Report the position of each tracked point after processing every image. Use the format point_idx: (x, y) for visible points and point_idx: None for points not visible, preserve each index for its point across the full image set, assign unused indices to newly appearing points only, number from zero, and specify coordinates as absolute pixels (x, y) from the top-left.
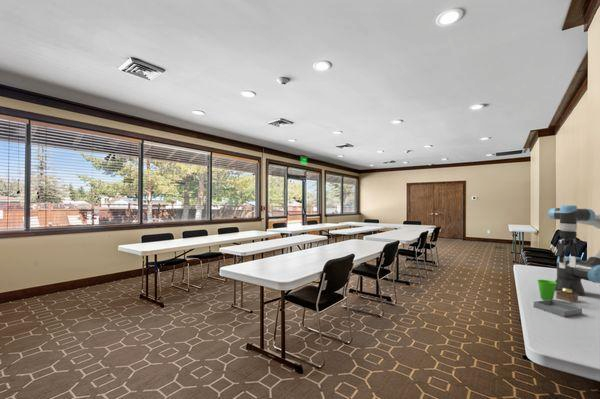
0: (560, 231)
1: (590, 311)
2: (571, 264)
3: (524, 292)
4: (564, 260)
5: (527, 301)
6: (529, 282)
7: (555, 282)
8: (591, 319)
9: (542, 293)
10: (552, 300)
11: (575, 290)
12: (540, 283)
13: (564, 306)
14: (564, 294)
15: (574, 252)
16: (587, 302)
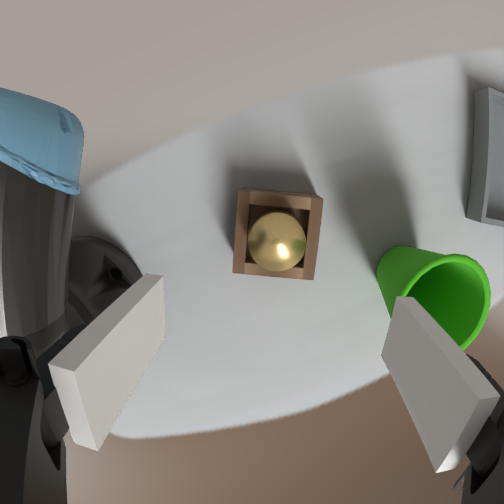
0: None
1: (394, 79)
2: (152, 334)
3: (359, 377)
4: (471, 362)
5: (498, 286)
6: (133, 436)
7: (415, 279)
8: (493, 58)
9: (438, 288)
10: (485, 211)
11: (107, 263)
12: (471, 321)
13: (483, 156)
14: (318, 232)
15: (24, 467)
16: (218, 152)
